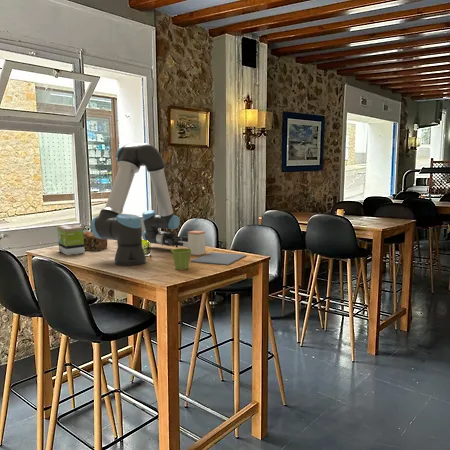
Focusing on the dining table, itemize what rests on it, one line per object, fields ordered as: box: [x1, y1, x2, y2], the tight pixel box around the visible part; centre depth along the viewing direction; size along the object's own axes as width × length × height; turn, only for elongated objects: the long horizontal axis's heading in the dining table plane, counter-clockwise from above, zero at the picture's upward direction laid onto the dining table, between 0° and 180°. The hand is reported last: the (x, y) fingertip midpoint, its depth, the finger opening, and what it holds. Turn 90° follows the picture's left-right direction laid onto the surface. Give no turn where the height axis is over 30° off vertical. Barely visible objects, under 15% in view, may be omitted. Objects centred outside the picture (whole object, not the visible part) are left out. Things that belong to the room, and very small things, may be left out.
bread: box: [83, 231, 108, 251], centre depth 248 cm, size 19×11×10 cm, turn 68°
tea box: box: [56, 224, 85, 256], centre depth 236 cm, size 15×10×15 cm, turn 37°
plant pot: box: [170, 247, 192, 271], centre depth 196 cm, size 9×9×9 cm
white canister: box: [187, 230, 206, 256], centre depth 231 cm, size 6×7×12 cm
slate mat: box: [190, 251, 246, 266], centre depth 217 cm, size 24×20×1 cm
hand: (196, 243), depth 232 cm, fingers open, 13 cm apart
